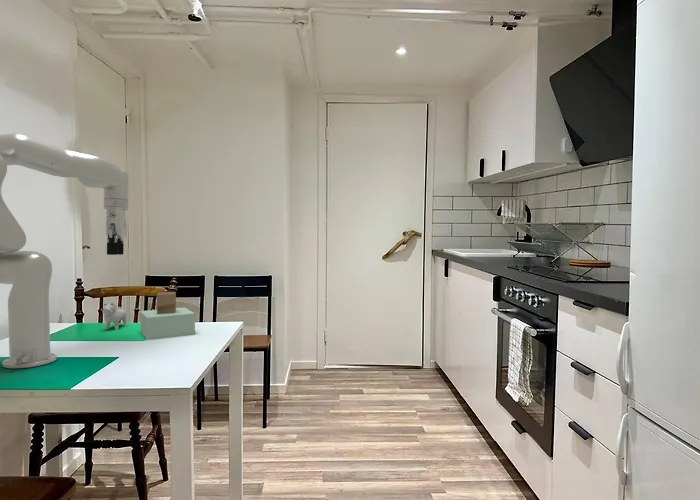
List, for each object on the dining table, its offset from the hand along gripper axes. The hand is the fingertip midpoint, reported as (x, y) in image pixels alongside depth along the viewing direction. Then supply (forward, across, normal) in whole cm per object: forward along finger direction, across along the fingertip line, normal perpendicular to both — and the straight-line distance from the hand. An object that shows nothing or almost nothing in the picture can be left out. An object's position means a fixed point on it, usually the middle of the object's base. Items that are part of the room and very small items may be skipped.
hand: (115, 254), depth 157 cm
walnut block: (+21, +7, -16) cm, 27 cm away
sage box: (+29, +7, -16) cm, 34 cm away
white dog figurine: (+29, +22, +4) cm, 37 cm away
